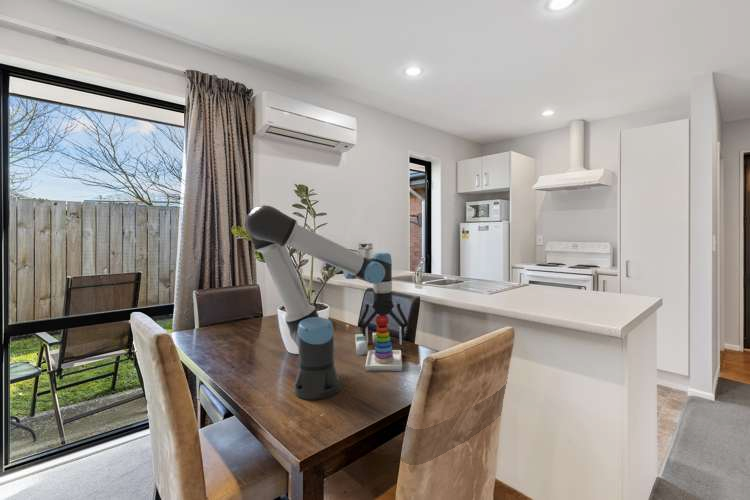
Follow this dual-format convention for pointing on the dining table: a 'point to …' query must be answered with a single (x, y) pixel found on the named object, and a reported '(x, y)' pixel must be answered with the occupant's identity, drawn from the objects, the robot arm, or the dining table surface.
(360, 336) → the teal cube
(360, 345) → the light grey cube
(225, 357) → the dining table surface
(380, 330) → the stacking toy
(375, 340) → the birch brick
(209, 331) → the dining table surface
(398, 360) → the cream tray
